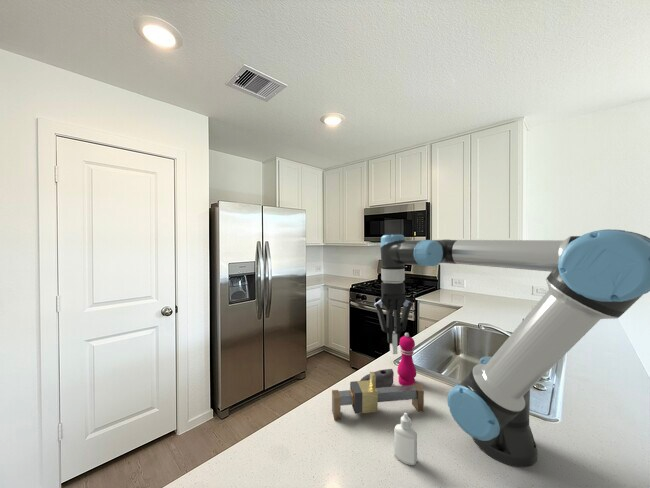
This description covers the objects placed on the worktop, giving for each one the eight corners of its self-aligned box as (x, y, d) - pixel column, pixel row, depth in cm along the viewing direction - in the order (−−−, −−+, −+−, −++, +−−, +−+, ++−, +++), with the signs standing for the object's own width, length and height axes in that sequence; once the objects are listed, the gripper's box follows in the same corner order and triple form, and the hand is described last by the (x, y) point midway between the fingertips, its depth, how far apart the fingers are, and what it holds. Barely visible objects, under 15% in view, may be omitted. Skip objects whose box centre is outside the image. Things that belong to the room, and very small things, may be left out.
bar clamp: (417, 403, 92) (417, 382, 92) (423, 411, 88) (423, 390, 87) (332, 410, 88) (332, 389, 88) (334, 420, 84) (334, 397, 83)
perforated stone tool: (361, 397, 96) (361, 378, 96) (355, 389, 101) (356, 371, 101) (398, 390, 100) (398, 372, 99) (391, 383, 105) (391, 366, 104)
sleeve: (371, 399, 91) (371, 368, 91) (377, 411, 84) (377, 378, 84) (357, 400, 90) (357, 369, 90) (362, 413, 84) (362, 380, 83)
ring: (357, 400, 90) (357, 381, 90) (362, 413, 84) (362, 392, 83) (350, 400, 90) (350, 381, 90) (354, 413, 83) (354, 393, 83)
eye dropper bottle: (407, 470, 66) (407, 423, 65) (391, 454, 71) (391, 409, 70) (419, 463, 68) (420, 417, 67) (403, 447, 73) (403, 405, 72)
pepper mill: (417, 388, 101) (417, 336, 100) (397, 386, 102) (398, 335, 101) (415, 378, 108) (415, 330, 107) (396, 377, 109) (396, 329, 109)
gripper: (406, 279, 92) (407, 346, 92) (370, 280, 90) (371, 349, 90) (416, 282, 84) (417, 355, 85) (377, 283, 83) (378, 358, 83)
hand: (393, 352), depth 87 cm, fingers closed
